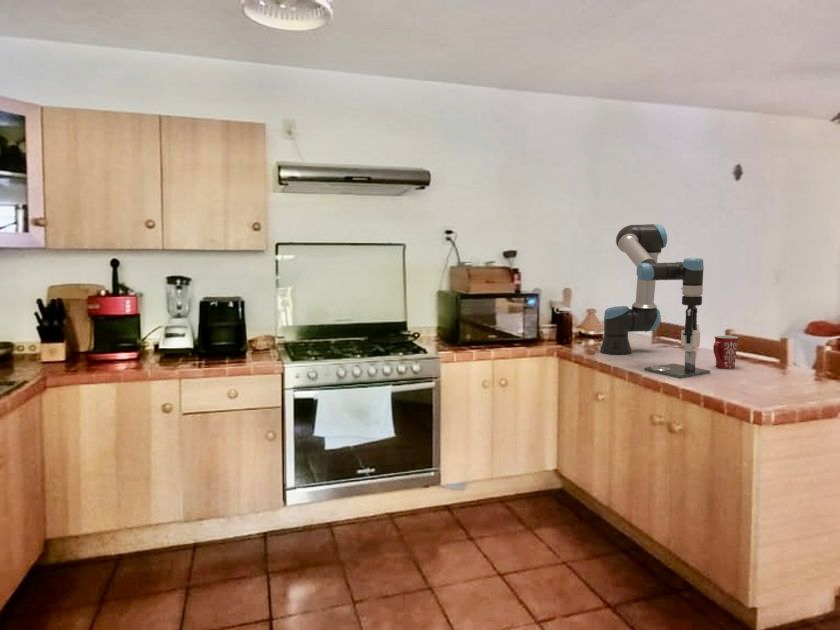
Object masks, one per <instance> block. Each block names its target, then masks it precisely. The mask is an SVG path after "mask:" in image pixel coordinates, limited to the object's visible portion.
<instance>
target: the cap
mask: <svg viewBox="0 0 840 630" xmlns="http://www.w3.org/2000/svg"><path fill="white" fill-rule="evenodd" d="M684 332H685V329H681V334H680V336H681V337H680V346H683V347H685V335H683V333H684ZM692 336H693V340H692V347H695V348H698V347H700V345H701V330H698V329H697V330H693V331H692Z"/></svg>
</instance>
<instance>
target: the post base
mask: <svg viewBox="0 0 840 630" xmlns="http://www.w3.org/2000/svg"><path fill="white" fill-rule="evenodd" d="M696 355H697V352H696V351H694V350H692V351H685V350H684V365H683V364H678V363H667V364H662V365H655V366H649V367H644V372H648V373H654V374H657V375H658V374H659V375H663V376H666V377H667V376H668V377H671V378H677V379H685V378H692V377H697V375H698V376H703V374H704V375H710V374H711V370H709V369H703V368H698V367H696V360H697V359H696Z"/></svg>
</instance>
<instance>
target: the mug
mask: <svg viewBox="0 0 840 630" xmlns="http://www.w3.org/2000/svg"><path fill="white" fill-rule="evenodd" d="M738 341H739V337H738V336H734V335H721V334H720V335H715V336H714V343H713V348H712V349H713V354H714V357H715V367H716V368H719V369H720V368H721V369H734V368H735V366H736V358H737V357H736V356H737V348H738Z"/></svg>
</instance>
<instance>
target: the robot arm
mask: <svg viewBox="0 0 840 630" xmlns="http://www.w3.org/2000/svg"><path fill="white" fill-rule="evenodd" d="M615 244H616V247H617V248H618V249H619V250H620V251H621V252H622V253H624V254H626V256H627V257H628V258H629V259H630V261H632V264H634V265H635V267H636V275H637V279H636V289H635V291H636V292H635V302H633V303H632V304H631V308H629V306H628V305H625V306H624V305H621V306H619V305H618V306H612V307H608V308H606V309H604V315H603V319H604V320H603V340H602V343H601V346H600V349H599V351H600V353H602V354H605V355H606V354H607V355H617V356H618V355H630V354H632V347H631V344H630V340H629V333H630V332H631V333H632V332H637V333H638V332H639V333H640V332H645V333H647V332H653V331H656V330H657V329H658V327H659V325H660V324H661V318H662V317H661V311H660V310H659V308H657V307H658V306H657V305H656V303H654V302H655V290H656V281H682V286H681V287H680V289H681V290H682V292H681V293H682V297H681V304H682V306H687V308H686V309H685V322H684V330H685V332H684V333H683V335H685V346H684V352H685V351H693V348H694V349H695V348H696V347H692V340H693V336H692V331H693V330H698V328H697V327H698V326H697V325H698V322H697V321H698V307H697V306H699V307H700V306H702V304H703V291H704V290H703V287H704V285H703V284H704V283H703V281H704V269H705V267H704V258H700V257H692V258H691V257H688V258H684V259H683V262H682V261H676V262H675V261H674V262H658V256H659V255H660V254H662V249H664V248H666V247H667V244H668V233H667V231H666V229H665V227H664V226H663V225H662V224H654V223H652V224H651V223H649V224H629V225H626V226H624V227H622V228H621V229H620V230H619V231H618V233H617V235H616V238H615Z"/></svg>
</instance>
